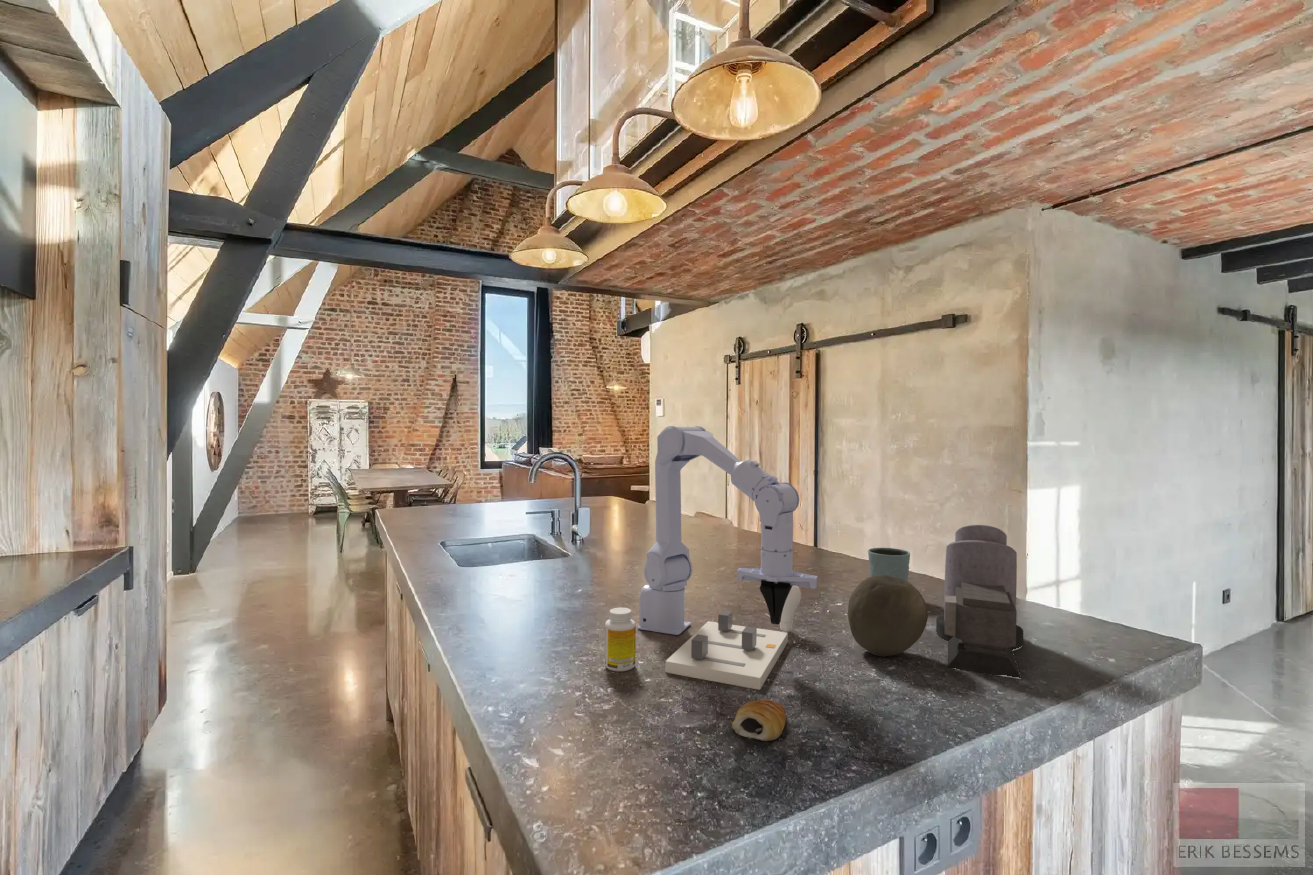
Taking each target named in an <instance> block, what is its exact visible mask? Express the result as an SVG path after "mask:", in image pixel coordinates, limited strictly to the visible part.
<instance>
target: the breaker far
mask: <svg viewBox="0 0 1313 875" xmlns="http://www.w3.org/2000/svg"><path fill="white" fill-rule="evenodd" d="M717 617H718V622H717V623H718V630H721V631H729V630H730V628H731V627H732V625H733V611H732V610H725V609H722V610H721V611H720V612H719V613H718V616H717Z"/></svg>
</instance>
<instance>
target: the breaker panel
mask: <svg viewBox="0 0 1313 875" xmlns="http://www.w3.org/2000/svg"><path fill="white" fill-rule="evenodd" d="M745 627H746V625H745V626H743V625H737V624H732V627H731V628H730V630H729V631H721V630H718V622H716V621H709V620H707V622H705V624H704V625H702V626H701V627H700V628H699V629H698V630H697V631H696V632H695V633H694V634H693V635H691V637H689V639H687V641H685V642H684V643H683V644H682V645H680V647H679V648H678V649H677V650H676V651H675V652H673V653H672V654H671V655H670V656H669V657H668V658H667V659H666V660H665V664H664V665H665V667H664V668H665V670H664V671H665V673H667V674H672V675H678V676H683V677H689V678H695V679H699V680H705V681H711V682H715V683H721V684H727V685H731V686H732V685H733V686H737V687H742V688H747V689H754V690H759V691H760V690H761V689H762V687H763V685H764V684H765V682H766V680H767V678H768V677H769V675H770V674H771V673H772V672H771V671H772V670H773V668H774V666H775V665H776V664H777V662H778V660H779V659H780V657H781V654H782V653H783V651H784V649H785V648H786V646H787V645H788V643H789V637H788V636H789V632H787V633H786V632H784V631H779V630H772V629H766V628H757V627H756V628H757V638H756V646H755V647H754V649H753V650H746V649H742V631H743V630H744V629H745ZM697 634H699V635H705V636H708V654H707V655H706V656H705V657H704V658H703V659H702V660H701V659H695V658H691V646H692V639H693V638H694V637H695V636H696V635H697Z"/></svg>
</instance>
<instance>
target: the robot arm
mask: <svg viewBox="0 0 1313 875" xmlns="http://www.w3.org/2000/svg"><path fill="white" fill-rule="evenodd" d="M713 435H714V434H713V433H712V432H711V431H709V430H706V428H704V427H702V426H699V425H698V426H696V425H695V426H675V425H669V426H666V427H665V428H664V429H663V430H662V431H661V432H660V433H659V434H658V435H657V437H656V439H657V440H656V441H657V451H656V452H657V453H656V457H655V461H654V462H655V463H654V465H655V466H654V470H655V471H654V472H655V473H654V475H655V486H654V487H655V488H654V489H655V540H656V541H655V543H654V544H653V545H652V546H651V548H650V549H649V550H648V551H647V552H646V562H645V564H644V568H643V576H644V579H645V581H646V583H647V584H644V585H643V587H641V590H640V595H639V600H638V602H639V607H638V608H639V615H638V616H639V617H638V618H639V620H638V621H639V622H638V624H639V625H637V630H641V631H649V632H655V633H662V634H667V635H675V636H678V635H680V634H681V633H682V632H684V631H685V630H686V629H687V628H688V627H690V626H691V624H692V622H690V621H685V616H686V615H685V608H686V606H685V604H686V603H685V600H686V599H685V598H686V597H685V596H686V595H685V594H686V588H685V587H686V586H687V585H688V581H689V580H690V579H691V578H692V575H693V565H692V564H693V563H692V560H691V559H690V550H689V548H688V547H687V546H686V545H685V544H684V543H683V542H682V496H681V495H682V494H681V493H682V488H681V487H682V486H681V482H682V481H681V478H682V477H681V472H682V469H683V468H684V467H685V466H686V465H687V464H688V463H689V462H690V461H692V460H694V459H696V458H699V457H701V456H702V457H704V458H705V459H706V460H708V461H710V462H711V463H713V464H714V465H715V466H717V467H718V468H720V469H721V470H723V471H724V472H726V473H727V474H729V475H730V482H731V484H732V485H733V486H734V487H736V488H737V490H740V491H741V492H742V493H743V494H745V495H746V496H747V497H748V498H749V499H750V500H752V501H754V506H755V508H756V511H757V512H758V514H759V522H760V523H761V524H760V528H761V529H760V539H761V540H760V568H747V567H746V568H743V567H739V568H738V569H737V570H736V581H751V582H758V583H760V586H759V590H760V592H761V595H762V597H763V599H764V601H765V603H766V606H767V609H768V613H769V618H770V624H771V625H779V626H780V622H781V615H782V611H783V607H784V604H785V601H786V599H787V597H788V594H789V592H790V590H791V588H792V586H793V585H794V586H798V587H804V588H809V589H813V590H814V589H815V590H816V589H817V587H818V575H812V574H808V573H807V574H806V573H800V572H796V571H793V548H794V546H793V545H794V544H793V543H794V542H793V541H794V538H793V537H794V535H793V534H794V512H795V511H796V510H797V508H798V507H799V504H800V495H799V492H798V490H797V489H796V487H794V486H793V485H792V483H790V482H787V481H784V482H780V481H778V480H779V479H778V477H776V476H775V475H770V474H769V473H768V472H766V471H765V470H764V469H763V468H762V467H760V463H759V461H756V460H750V459H746V460H740V459H739V458H738V457H737V456H736V455H735V454H733V453H732V452H731V451H730V450H729V449H728V448H726V447H725V445H723V444H722V443H721V442H720V441H719V440H718V439H716V438H715V437H714V436H713Z"/></svg>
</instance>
